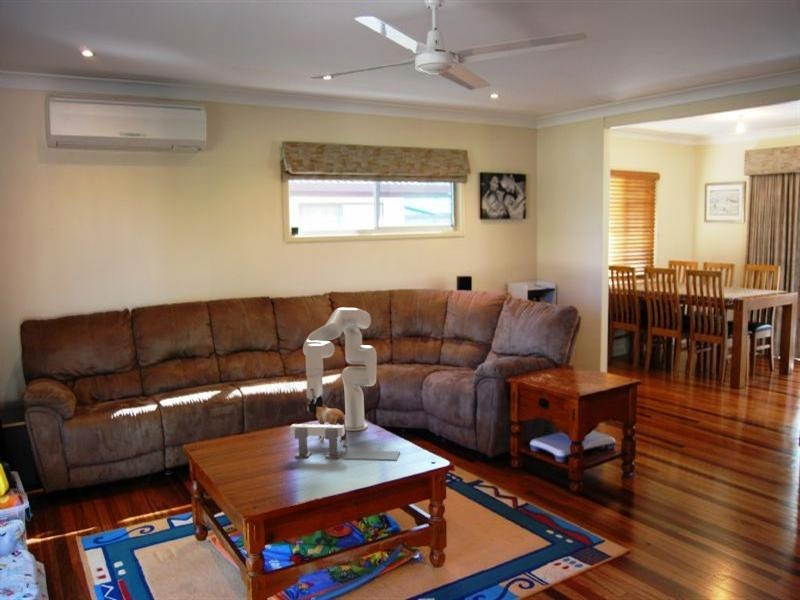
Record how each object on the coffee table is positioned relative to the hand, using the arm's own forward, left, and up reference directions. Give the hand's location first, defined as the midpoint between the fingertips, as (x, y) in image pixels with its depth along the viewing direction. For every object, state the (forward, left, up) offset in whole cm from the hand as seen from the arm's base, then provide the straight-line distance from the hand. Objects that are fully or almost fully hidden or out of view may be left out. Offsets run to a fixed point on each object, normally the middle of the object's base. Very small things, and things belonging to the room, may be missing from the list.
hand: (316, 409), depth 299 cm
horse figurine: (-16, -1, -22) cm, 27 cm away
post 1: (0, -7, -22) cm, 23 cm away
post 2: (0, +7, -22) cm, 23 cm away
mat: (-2, +24, -22) cm, 32 cm away
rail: (0, 0, -12) cm, 12 cm away
